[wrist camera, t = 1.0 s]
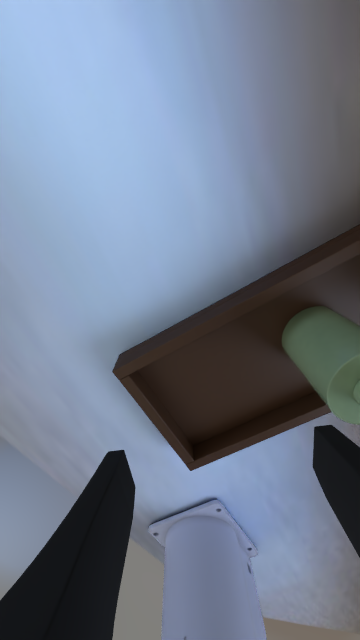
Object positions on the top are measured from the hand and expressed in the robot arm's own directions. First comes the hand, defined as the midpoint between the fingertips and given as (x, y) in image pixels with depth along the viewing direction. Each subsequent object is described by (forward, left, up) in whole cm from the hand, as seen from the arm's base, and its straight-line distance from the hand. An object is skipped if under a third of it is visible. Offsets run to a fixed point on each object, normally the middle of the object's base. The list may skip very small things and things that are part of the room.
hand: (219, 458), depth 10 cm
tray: (-3, -7, -10) cm, 13 cm away
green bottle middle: (-3, -7, -9) cm, 12 cm away
